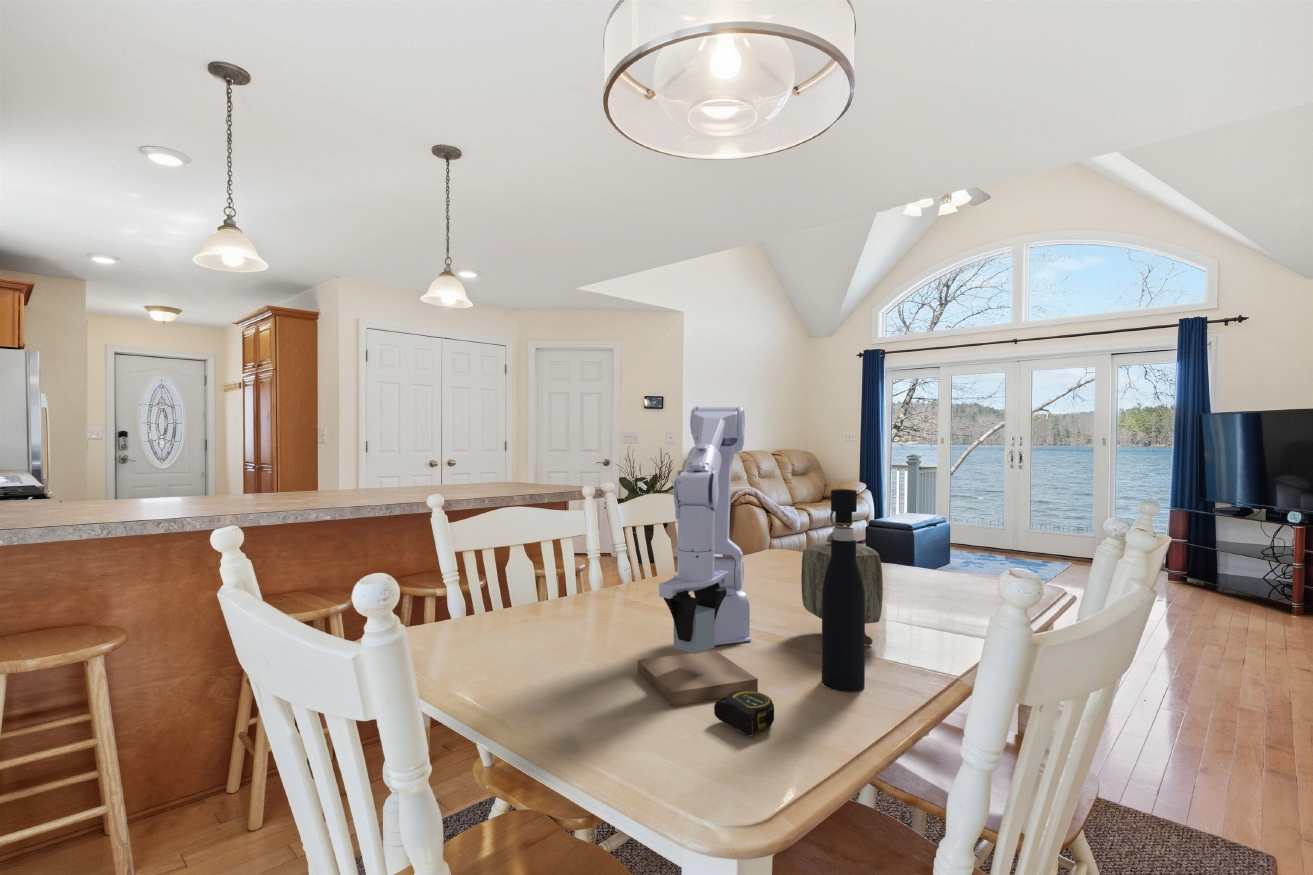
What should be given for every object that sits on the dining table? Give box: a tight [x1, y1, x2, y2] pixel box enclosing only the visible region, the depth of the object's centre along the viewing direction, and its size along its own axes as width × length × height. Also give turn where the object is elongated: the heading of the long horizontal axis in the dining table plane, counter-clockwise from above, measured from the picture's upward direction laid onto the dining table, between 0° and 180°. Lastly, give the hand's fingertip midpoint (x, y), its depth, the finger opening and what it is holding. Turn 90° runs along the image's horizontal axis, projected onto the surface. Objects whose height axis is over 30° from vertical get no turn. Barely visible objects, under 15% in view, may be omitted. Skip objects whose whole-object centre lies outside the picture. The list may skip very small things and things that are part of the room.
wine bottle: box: [821, 488, 866, 693], centre depth 98 cm, size 6×6×30 cm
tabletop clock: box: [800, 510, 884, 646], centre depth 121 cm, size 14×9×25 cm, turn 17°
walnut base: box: [636, 649, 759, 707], centre depth 98 cm, size 14×14×2 cm
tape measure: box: [713, 690, 775, 737], centre depth 83 cm, size 7×7×4 cm
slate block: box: [673, 605, 715, 654], centre depth 98 cm, size 4×4×6 cm
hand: (695, 636), depth 98 cm, fingers closed on slate block, 4 cm apart
